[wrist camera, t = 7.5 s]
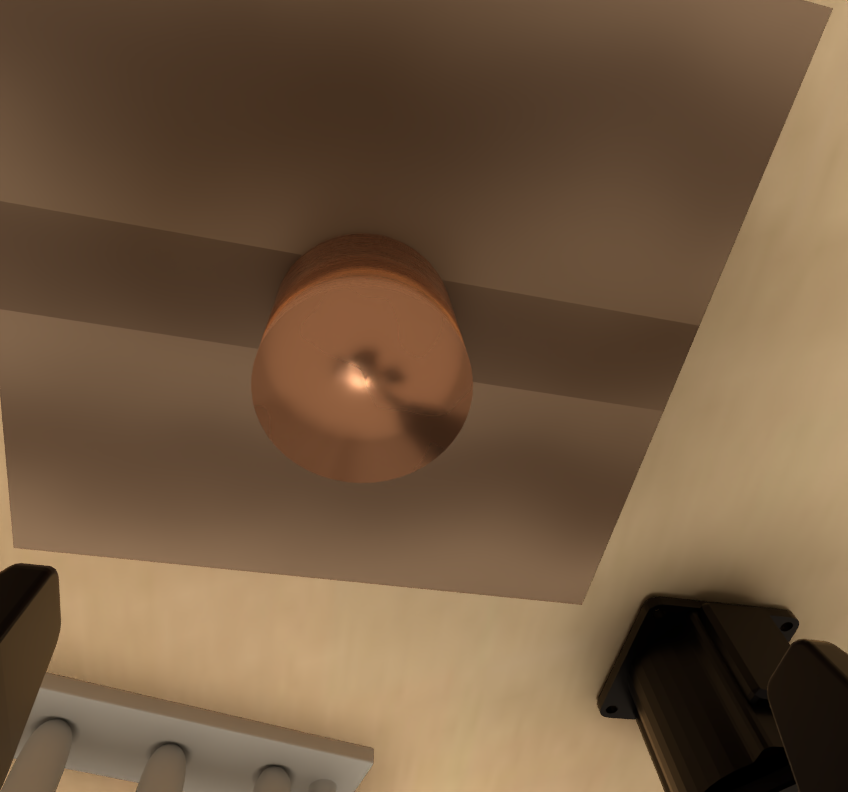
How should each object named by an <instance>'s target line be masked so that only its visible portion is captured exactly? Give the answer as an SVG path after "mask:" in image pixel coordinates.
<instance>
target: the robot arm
mask: <svg viewBox="0 0 848 792" xmlns="http://www.w3.org/2000/svg"><path fill="white" fill-rule="evenodd" d="M658 609H659V610H658ZM656 610H657V611H656ZM798 626H799V621H798V620H797V618H796V617H795V616H794V614H793V613H792V612H791V611H789V610H782V609H773V608H763V607H754V606H744V605H734V604H725V603H715V602H706V601H696V600H686V599H677V598H667V597H653V598H650V599H649V600H647V601H646V602H645V603H644V604H643V606H642V608H641V610H640V613H639V615H638V617H637V619H636V621H635V623H634V625H633V627H632V629H631V631H630V634H629V636H628V638H627V640H626V642H625V644H624V646H623V648H622V650H621V652H620V655H619V657H618V659H617V661H616V663H615V665H614V667H613V669H612V671H611V673H610V676H609V678H608V680H607V682H606V684H605V686H604V688H603V690H602V692H601V694H600V696H599V699H598V701H597V705H598V708H599V711H600V713H601V715H602V716H604V717H608V718H622V719H636V721H637V724H638V726H639V729H640V731H641V734H642V736H643V739H644V741H645V744H646V746H647V749H648V751H649V754H650V756H651V759H652V761H653V764H654V766H655V769H656V771H657V774H658V776H659V779H660V781H661V784H662V786H663V789H664V791H665V792H848V654H847V653H845V652H844V651H843V650H841V649H840V648H838V647H837V646H835V645H834V644H832V643H829V642H826V641H819V640H808V639H800V640H797V641H795V642H794V643H792V645H790V644H789V641H790V640H791V638H792V636H793V635H794V633H795V632H796V630H797V628H798ZM60 627H61V612H60V593H59V577H58V573H57V571H56V569H54V568H53V567H51V566H44V565H33V564H23V563H19V564H14V565H12V566H9V567H7V568H6V569H4V570H3V571H1V572H0V790H1V788H2V785H3V783H4V781H5V778H6V776H7V773H8V771H9V768H10V766H11V763H12V761H13V758H14V755H15V753H16V750H17V747H18V745H19V742H20V739H21V737H22V734H23V731H24V729H25V726H26V724H27V721H28V718H29V716H30V713H31V710H32V708H33V705H34V702H35V700H36V697H37V694H38V692H39V689H40V686H41V684H42V681H43V679H44V676H45V673H46V671H47V668H48V665H49V663H50V660H51V657H52V655H53V652H54V649H55V647H56V644H57V641H58V637H59V633H60Z"/></svg>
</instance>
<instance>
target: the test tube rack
mask: <svg viewBox="0 0 848 792" xmlns="http://www.w3.org/2000/svg"><path fill="white" fill-rule="evenodd" d="M373 754H374V751H373V748H369V747H365V746H361V745H357V744H352V743H348V742H344V741H339V740H335V739H331V738H326V737H322V736H318V735H313V734H309V733H305V732H300V731H296V730H292V729H287V728H283V727H279V726H274V725H270V724H266V723H262V722H257V721H253V720H249V719H244V718H240V717H236V716H231V715H227V714H223V713H218V712H214V711H210V710H206V709H201V708H197V707H193V706H188V705H184V704H180V703H175V702H171V701H167V700H163V699H158V698H154V697H150V696H145V695H141V694H137V693H132V692H128V691H124V690H119V689H115V688H111V687H107V686H102V685H98V684H94V683H89V682H85V681H81V680H76V679H72V678H68V677H64V676H59V675H55V674H51V673H45V676H44V679H43V681H42V684H41V686H40V689H39V692H38V694H37V697H36V700H35V702H34V705H33V708H32V710H31V713H30V716H29V718H28V721H27V724H26V726H25V729H24V731H23V734H22V737H21V739H20V742H19V745H18V747H17V750H16V753H15V755H14V758H15V759H16V761H15V763H14V765H13V767H12V769H11V771H10V773H9V775H8V777H7V779H6V781H5V783H4V785H3V787H2V789H1V791H0V792H55V791H56V789H57V786H58V784H59V781H60V779H61V776H62V774H63V771H64V768H66V769H71V770H76V771H81V772H86V773H91V774H96V775H101V776H106V777H111V778H116V779H121V780H127V781H132V782H137V783H139V784H138V787H137V790H136V792H354V791H355V790H356V788H357V787H358V786H359V784H360V783H361V781H362V780H363V778H364V777H365V775H366V774H367V772H368V771H369V770H370V768H371V767H372V765H373V763H374V755H373Z"/></svg>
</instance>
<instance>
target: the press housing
mask: <svg viewBox="0 0 848 792" xmlns="http://www.w3.org/2000/svg"><path fill="white" fill-rule="evenodd" d="M832 10H833V8H830V7H826V6H822V5H819V4H815V3H811V2H808V1H804V0H0V398H1V409H2V420H3V432H4V443H5V454H6V466H7V477H8V488H9V500H10V511H11V522H12V534H13V545H14V548H20V549H30V550H40V551H50V552H60V553H70V554H80V555H90V556H100V557H110V558H120V559H130V560H140V561H150V562H160V563H170V564H180V565H190V566H200V567H210V568H220V569H230V570H240V571H250V572H260V573H270V574H280V575H290V576H300V577H310V578H320V579H330V580H340V581H350V582H360V583H370V584H380V585H390V586H400V587H410V588H420V589H430V590H440V591H450V592H460V593H470V594H480V595H490V596H500V597H510V598H520V599H530V600H540V601H550V602H560V603H570V604H580V605H582V603H583V601H584V599H585V596H586V594H587V592H588V589H589V587H590V584H591V582H592V580H593V577H594V575H595V573H596V570H597V568H598V565H599V563H600V561H601V558H602V556H603V554H604V551H605V549H606V546H607V544H608V542H609V539H610V537H611V535H612V532H613V530H614V527H615V525H616V523H617V520H618V518H619V516H620V513H621V511H622V508H623V506H624V504H625V501H626V499H627V497H628V494H629V492H630V489H631V487H632V485H633V482H634V480H635V478H636V475H637V473H638V470H639V468H640V466H641V463H642V461H643V459H644V456H645V454H646V451H647V449H648V447H649V444H650V442H651V440H652V437H653V435H654V432H655V430H656V428H657V425H658V423H659V421H660V418H661V416H662V413H663V411H664V409H665V406H666V404H667V402H668V399H669V397H670V394H671V392H672V390H673V387H674V385H675V383H676V380H677V378H678V375H679V373H680V371H681V368H682V366H683V364H684V361H685V359H686V356H687V354H688V352H689V349H690V347H691V345H692V342H693V340H694V337H695V335H696V333H697V330H698V328H699V326H700V323H701V321H702V318H703V316H704V314H705V311H706V309H707V307H708V304H709V302H710V299H711V297H712V295H713V292H714V290H715V288H716V285H717V283H718V280H719V278H720V276H721V273H722V271H723V269H724V266H725V264H726V261H727V259H728V257H729V254H730V252H731V250H732V247H733V245H734V242H735V240H736V238H737V235H738V233H739V231H740V228H741V226H742V223H743V221H744V219H745V216H746V214H747V212H748V209H749V207H750V204H751V202H752V200H753V197H754V195H755V193H756V190H757V188H758V185H759V183H760V181H761V178H762V176H763V174H764V171H765V169H766V166H767V164H768V162H769V159H770V157H771V155H772V152H773V150H774V147H775V145H776V143H777V140H778V138H779V136H780V133H781V131H782V128H783V126H784V124H785V121H786V119H787V117H788V114H789V112H790V109H791V107H792V105H793V102H794V100H795V98H796V95H797V93H798V90H799V88H800V86H801V83H802V81H803V79H804V76H805V74H806V71H807V69H808V67H809V64H810V62H811V60H812V57H813V55H814V52H815V50H816V48H817V45H818V43H819V41H820V38H821V36H822V33H823V31H824V29H825V26H826V24H827V22H828V19H829V17H830V14H831V12H832ZM365 233H367V234H375V235H381V236H385V237H389V238H392V239H395V240H397V241H400V242H402V243H404V244H406V245H408V246H410V247H411V248H413V249H414V250H416V251H417V252H418V253H420V254H421V255H422V256H423V257H424V258H425V259H426V260H427V261H428V262H429V263H430V264H431V265H432V266H433V267H434V269H435V270H436V271H437V273H438V274H439V276H440V278H441V279H442V281H443V283H444V286H445V288H446V290H447V293H448V296H449V299H450V302H451V305H452V308H453V311H454V314H455V317H456V320H457V323H458V326H459V329H460V332H461V335H462V338H463V341H464V344H465V348H466V351H467V354H468V357H469V360H470V364H471V368H472V376H473V396H472V401H471V406H470V410H469V413H468V415H467V418H466V421H465V423H464V425H463V427H462V429H461V431H460V432H459V434H458V435H457V436H456V438H455V439H454V441H453V442H452V443H451V444H450V445H449V446H448V448H447V449H446V450H445V451H444V452H443V453H441V454H440V455H439V456H438V457H437V458H436V459H434V460H433V461H432V462H430V463H429V464H427V465H426V466H424V467H422V468H420V469H418V470H416V471H414V472H412V473H410V474H407V475H405V476H402V477H399V478H395V479H392V480H388V481H381V482H375V483H351V482H343V481H338V480H333V479H329V478H326V477H322V476H320V475H317V474H315V473H312V472H310V471H308V470H306V469H304V468H303V467H301V466H299V465H297V464H296V463H294V462H293V461H292V460H290V459H289V458H288V457H286V456H285V455H284V454H283V453H282V452H281V451H280V450H279V449H278V448H277V447H276V446H275V445H274V444H273V442H272V441H271V440H270V439H269V438H268V436H267V434H266V433H265V431H264V430H263V428H262V426H261V424H260V422H259V420H258V417H257V415H256V412H255V408H254V405H253V400H252V392H251V375H252V370H253V364H254V361H255V358H256V355H257V352H258V349H259V346H260V343H261V340H262V337H263V334H264V331H265V328H266V325H267V323H268V320H269V317H270V314H271V311H272V308H273V305H274V302H275V299H276V296H277V293H278V290H279V288H280V285H281V283H282V281H283V279H284V277H285V275H286V273H287V272H288V271H289V269H290V268H291V266H292V265H293V264H294V263H295V262H296V261H297V260H298V259H299V258H300V257H301V256H302V255H303V254H304V253H306V252H307V251H308V250H309V249H311V248H313V247H314V246H316V245H318V244H319V243H322V242H324V241H326V240H329V239H331V238H335V237H338V236H342V235H348V234H365Z"/></svg>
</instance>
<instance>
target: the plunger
mask: <svg viewBox="0 0 848 792" xmlns="http://www.w3.org/2000/svg"><path fill="white" fill-rule="evenodd" d="M251 392H252V400H253V405H254V408H255V412H256V415H257V417H258V420H259V422H260V424H261V426H262V428H263V430H264V431H265V433H266V434H267V436H268V438H269V439H270V440H271V441H272V442H273V444H274V445H275V446H276V447H277V448H278V449H279V450H280V451H281V452H282V453H283V454H284V455H285V456H286V457H288V458H289V459H290V460H292V461H293V462H294V463H296V464H297V465H299V466H301V467H303V468H304V469H306V470H308V471H310V472H312V473H315V474H317V475H320V476H322V477H326V478H329V479H333V480H338V481H343V482H351V483H375V482H381V481H388V480H392V479H395V478H399V477H402V476H405V475H407V474H410V473H412V472H414V471H416V470H418V469H420V468H422V467H424V466H426V465H427V464H429V463H430V462H432V461H433V460H434V459H436V458H437V457H438V456H439V455H440V454H441V453H443V452H444V451H445V450H446V449H447V448H448V446H449V445H450V444H451V443H452V442H453V441H454V439H455V438H456V436H457V435H458V434H459V432H460V431H461V429H462V427H463V425H464V423H465V421H466V418H467V415H468V413H469V410H470V406H471V401H472V396H473V376H472V368H471V364H470V360H469V357H468V354H467V351H466V348H465V344H464V341H463V338H462V335H461V332H460V329H459V326H458V323H457V320H456V317H455V314H454V311H453V308H452V305H451V302H450V299H449V296H448V293H447V290H446V288H445V286H444V283H443V281H442V279H441V278H440V276H439V274H438V273H437V271H436V270H435V269H434V267H433V266H432V265H431V264H430V263H429V262H428V261H427V260H426V259H425V258H424V257H423V256H422V255H421V254H420V253H418V252H417V251H416V250H414V249H413V248H411V247H410V246H408V245H406V244H404V243H402V242H400V241H397V240H395V239H392V238H389V237H385V236H381V235H375V234H367V233H365V234H348V235H342V236H338V237H335V238H331V239H329V240H326V241H324V242H322V243H319V244H318V245H316V246H314V247H313V248H311V249H309V250H308V251H307V252H306V253H304V254H303V255H302V256H301V257H300V258H299V259H298V260H297V261H296V262H295V263H294V264H293V265H292V266H291V268H290V269H289V271H288V272H287V273H286V275H285V277H284V279H283V281H282V283H281V285H280V288H279V290H278V293H277V296H276V299H275V302H274V305H273V308H272V311H271V314H270V317H269V320H268V323H267V325H266V328H265V331H264V334H263V337H262V340H261V343H260V346H259V349H258V352H257V355H256V358H255V361H254V364H253V370H252V375H251Z"/></svg>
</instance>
